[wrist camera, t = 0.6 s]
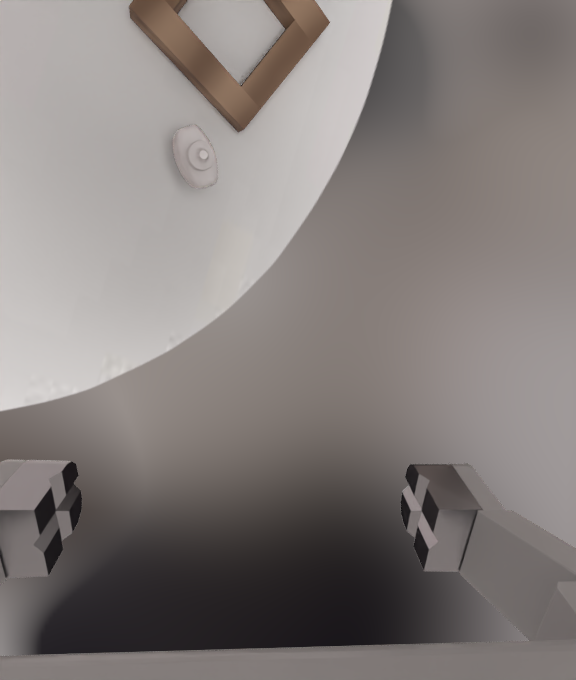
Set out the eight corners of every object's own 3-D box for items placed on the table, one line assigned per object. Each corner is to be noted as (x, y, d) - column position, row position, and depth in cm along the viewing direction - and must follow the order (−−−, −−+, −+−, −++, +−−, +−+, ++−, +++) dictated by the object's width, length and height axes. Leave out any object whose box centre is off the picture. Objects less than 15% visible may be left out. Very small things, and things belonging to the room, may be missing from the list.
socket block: (130, 17, 38) (128, 5, 36) (222, -104, 37) (227, -125, 35) (238, 132, 45) (243, 129, 42) (319, 32, 44) (330, 22, 41)
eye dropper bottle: (213, 138, 44) (233, 125, 34) (207, 190, 46) (224, 193, 36) (173, 128, 43) (180, 111, 32) (168, 182, 45) (174, 183, 34)
